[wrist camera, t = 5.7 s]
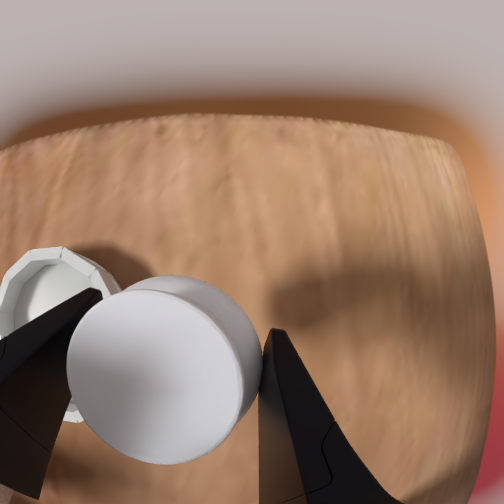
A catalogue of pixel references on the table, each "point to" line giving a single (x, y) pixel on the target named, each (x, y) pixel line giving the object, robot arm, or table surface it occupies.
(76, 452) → the table surface
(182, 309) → the supplement bottle
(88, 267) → the dish
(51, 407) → the robot arm
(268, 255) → the table surface
